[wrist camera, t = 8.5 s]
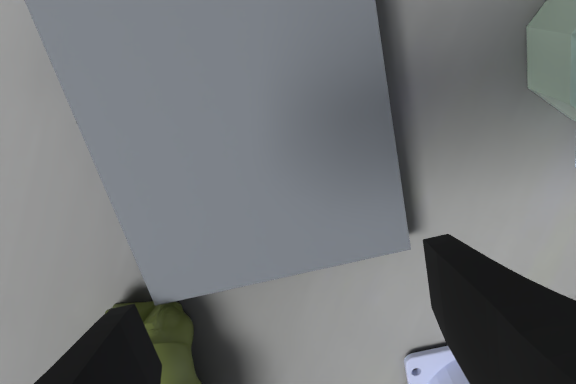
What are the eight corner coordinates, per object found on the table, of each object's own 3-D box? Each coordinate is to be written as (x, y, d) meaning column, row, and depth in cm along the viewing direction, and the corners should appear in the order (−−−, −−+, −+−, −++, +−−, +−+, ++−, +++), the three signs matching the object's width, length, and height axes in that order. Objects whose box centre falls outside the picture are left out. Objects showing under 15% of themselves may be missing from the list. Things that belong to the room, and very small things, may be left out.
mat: (403, 236, 22) (410, 249, 21) (160, 290, 23) (154, 305, 22) (354, -100, 17) (360, -106, 16) (32, -17, 17) (17, -17, 16)
